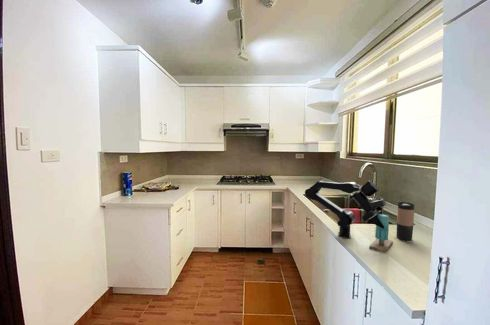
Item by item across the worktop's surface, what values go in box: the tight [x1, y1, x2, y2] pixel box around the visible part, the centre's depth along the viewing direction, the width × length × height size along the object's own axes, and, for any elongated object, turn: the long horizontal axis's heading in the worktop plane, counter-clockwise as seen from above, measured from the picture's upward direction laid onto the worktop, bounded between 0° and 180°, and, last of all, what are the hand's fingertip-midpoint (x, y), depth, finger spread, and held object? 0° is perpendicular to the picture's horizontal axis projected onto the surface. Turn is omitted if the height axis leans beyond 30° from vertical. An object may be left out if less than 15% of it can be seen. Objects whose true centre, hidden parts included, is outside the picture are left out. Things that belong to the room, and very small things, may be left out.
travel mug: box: [396, 201, 415, 242], centre depth 129 cm, size 8×8×20 cm
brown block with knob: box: [369, 238, 394, 253], centre depth 121 cm, size 7×16×4 cm, turn 136°
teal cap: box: [374, 213, 390, 241], centre depth 120 cm, size 6×6×12 cm
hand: (385, 226), depth 119 cm, fingers closed on teal cap, 6 cm apart
